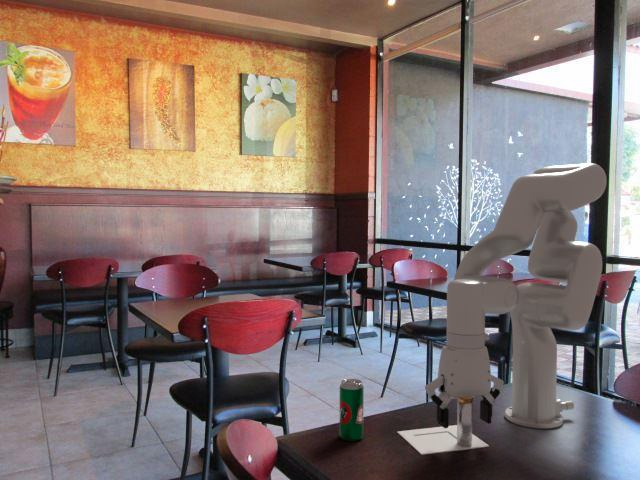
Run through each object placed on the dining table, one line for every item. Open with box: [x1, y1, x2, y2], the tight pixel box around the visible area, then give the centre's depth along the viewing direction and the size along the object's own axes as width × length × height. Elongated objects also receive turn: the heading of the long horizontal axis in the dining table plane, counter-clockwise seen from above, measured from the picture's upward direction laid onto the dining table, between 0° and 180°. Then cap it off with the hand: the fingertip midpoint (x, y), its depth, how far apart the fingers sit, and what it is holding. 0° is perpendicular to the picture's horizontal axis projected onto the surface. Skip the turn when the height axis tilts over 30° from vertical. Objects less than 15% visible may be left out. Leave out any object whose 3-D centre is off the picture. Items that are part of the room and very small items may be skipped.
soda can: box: [339, 378, 365, 442], centre depth 119 cm, size 5×5×12 cm
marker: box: [456, 397, 474, 447], centre depth 114 cm, size 3×3×11 cm
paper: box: [397, 424, 490, 456], centre depth 118 cm, size 15×12×1 cm
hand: (464, 423), depth 114 cm, fingers open, 9 cm apart
